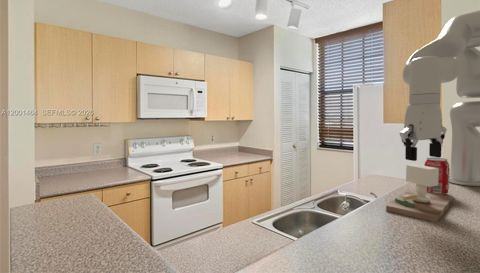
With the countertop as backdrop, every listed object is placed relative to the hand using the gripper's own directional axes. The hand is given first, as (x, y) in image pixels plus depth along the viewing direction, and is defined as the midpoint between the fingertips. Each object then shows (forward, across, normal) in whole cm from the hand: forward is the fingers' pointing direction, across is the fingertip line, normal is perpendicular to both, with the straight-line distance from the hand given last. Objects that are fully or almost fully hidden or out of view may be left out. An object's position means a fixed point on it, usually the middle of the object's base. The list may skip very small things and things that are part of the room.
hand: (423, 158), depth 79 cm
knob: (+13, +3, 0) cm, 13 cm away
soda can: (+15, -16, -7) cm, 23 cm away
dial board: (+14, +1, 0) cm, 14 cm away
